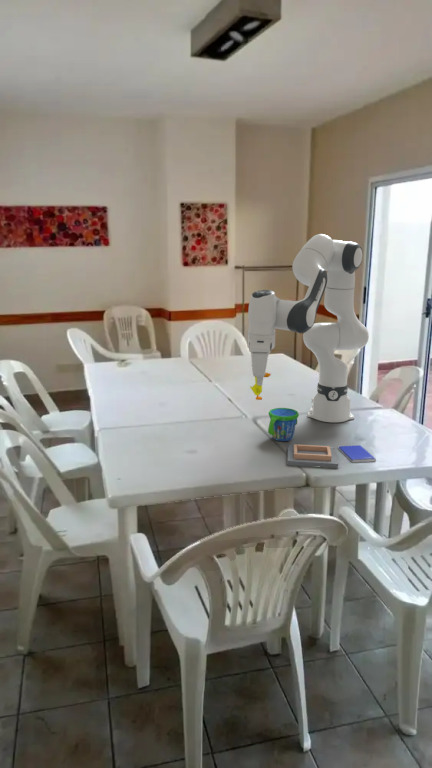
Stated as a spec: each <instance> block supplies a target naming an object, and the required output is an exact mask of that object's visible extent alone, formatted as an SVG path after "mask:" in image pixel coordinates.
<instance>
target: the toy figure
mask: <svg viewBox="0 0 432 768" xmlns="http://www.w3.org/2000/svg"><path fill="white" fill-rule="evenodd" d="M271 375H272V373H270V372H265V376H264V377H263V378H269V377H270V376H271ZM254 381H255V383H254V384H253V386H249V388H250V390H251V391H252V393H253V394H254V395H255V401H256V400H257V401H260V400H263V397H262V396H260V395H261V393H262V392H263V385H261V386H259V385H257V377H254Z"/></svg>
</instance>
